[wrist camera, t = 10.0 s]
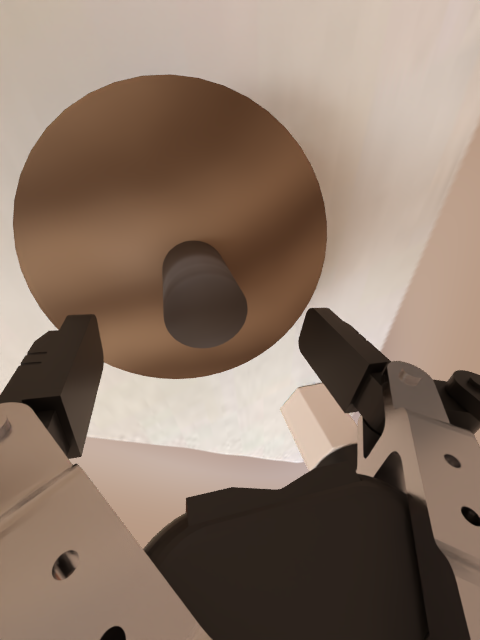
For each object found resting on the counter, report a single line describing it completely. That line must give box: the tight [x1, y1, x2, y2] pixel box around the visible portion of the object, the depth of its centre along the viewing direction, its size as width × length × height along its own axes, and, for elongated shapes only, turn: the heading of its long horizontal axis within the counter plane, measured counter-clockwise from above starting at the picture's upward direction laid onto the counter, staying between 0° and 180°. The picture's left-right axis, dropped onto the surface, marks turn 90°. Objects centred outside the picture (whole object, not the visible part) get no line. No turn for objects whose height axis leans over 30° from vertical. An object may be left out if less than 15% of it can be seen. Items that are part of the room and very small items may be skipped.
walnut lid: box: [13, 75, 327, 379], centre depth 14 cm, size 17×17×6 cm
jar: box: [280, 383, 358, 471], centre depth 34 cm, size 9×8×12 cm
